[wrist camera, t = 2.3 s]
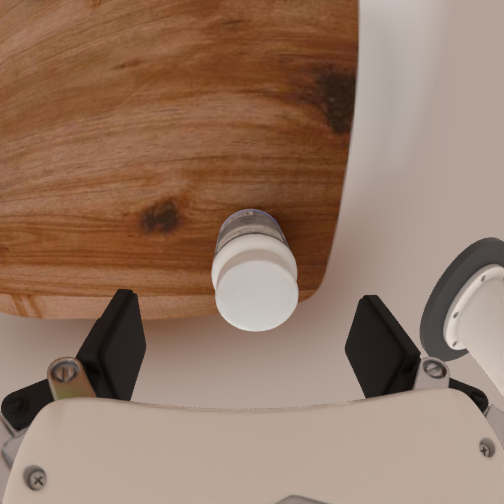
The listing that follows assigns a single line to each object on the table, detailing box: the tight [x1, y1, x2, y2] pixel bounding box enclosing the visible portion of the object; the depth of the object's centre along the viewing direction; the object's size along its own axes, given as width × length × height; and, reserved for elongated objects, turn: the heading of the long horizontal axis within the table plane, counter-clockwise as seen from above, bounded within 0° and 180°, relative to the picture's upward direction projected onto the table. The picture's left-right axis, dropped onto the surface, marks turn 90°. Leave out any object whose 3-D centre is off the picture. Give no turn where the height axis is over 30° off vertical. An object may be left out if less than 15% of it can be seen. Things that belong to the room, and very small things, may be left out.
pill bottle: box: [212, 209, 298, 331], centre depth 17 cm, size 5×5×8 cm
